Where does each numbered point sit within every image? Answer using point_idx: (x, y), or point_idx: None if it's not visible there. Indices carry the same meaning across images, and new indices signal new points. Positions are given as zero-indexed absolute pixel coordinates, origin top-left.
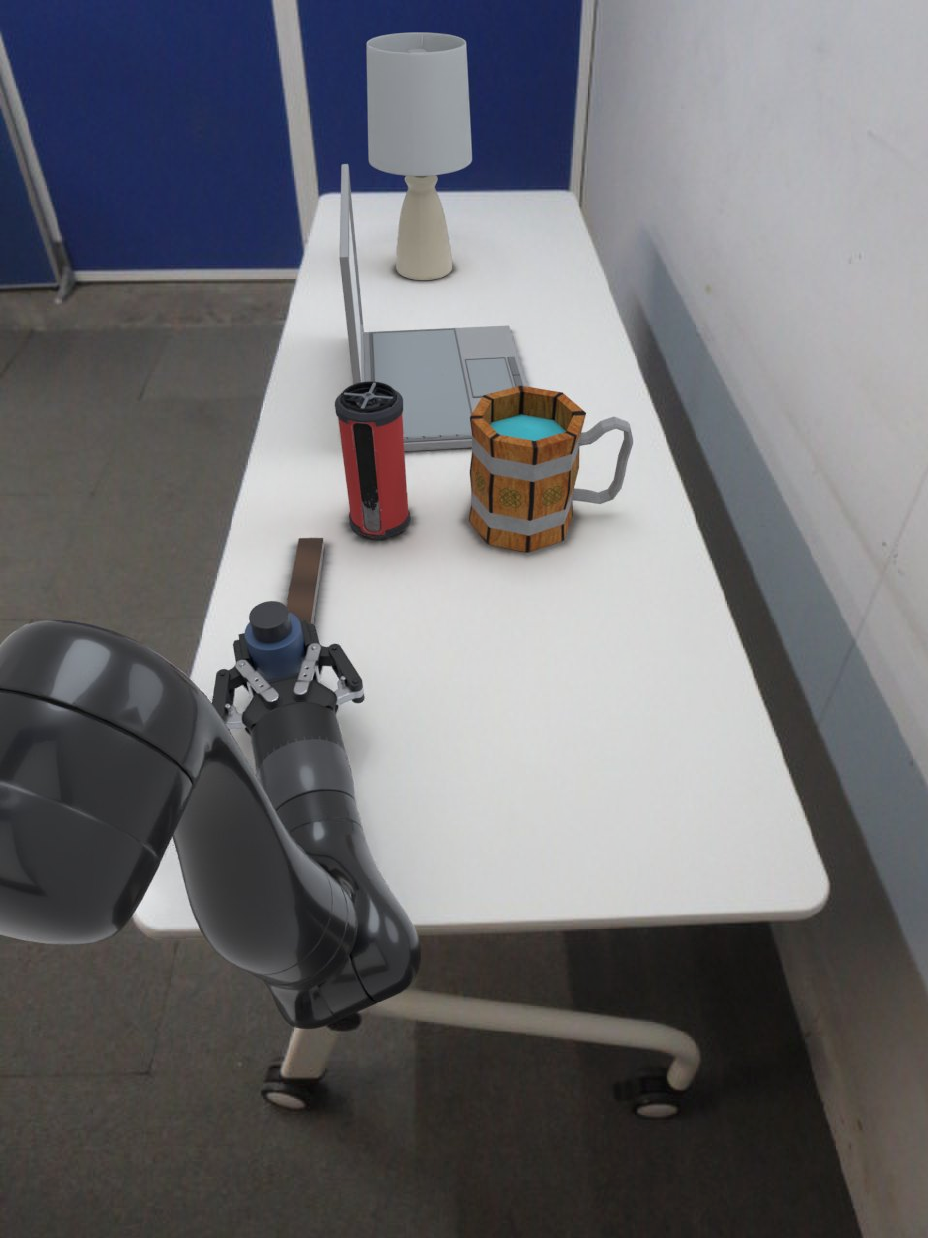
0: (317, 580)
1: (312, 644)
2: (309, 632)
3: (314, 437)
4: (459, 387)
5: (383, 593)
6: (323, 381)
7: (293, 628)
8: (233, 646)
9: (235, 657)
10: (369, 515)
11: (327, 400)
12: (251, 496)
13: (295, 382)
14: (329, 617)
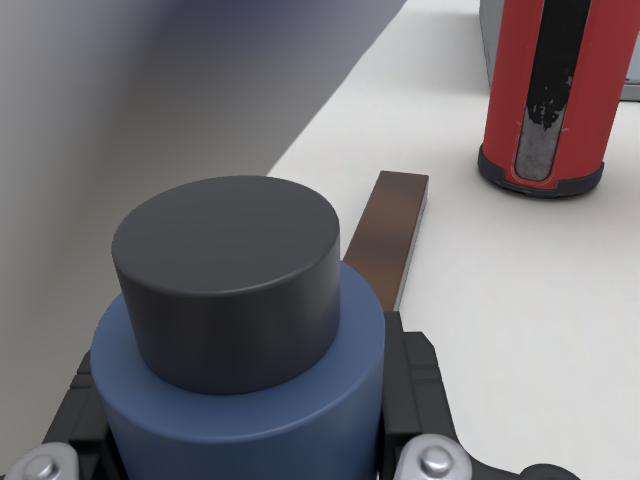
0: (411, 245)
1: (425, 439)
2: (408, 369)
3: (418, 76)
4: (637, 42)
5: (568, 301)
6: (433, 36)
7: (345, 334)
8: (82, 362)
9: (56, 417)
10: (533, 141)
11: (438, 49)
12: (312, 121)
13: (398, 35)
14: (432, 333)
